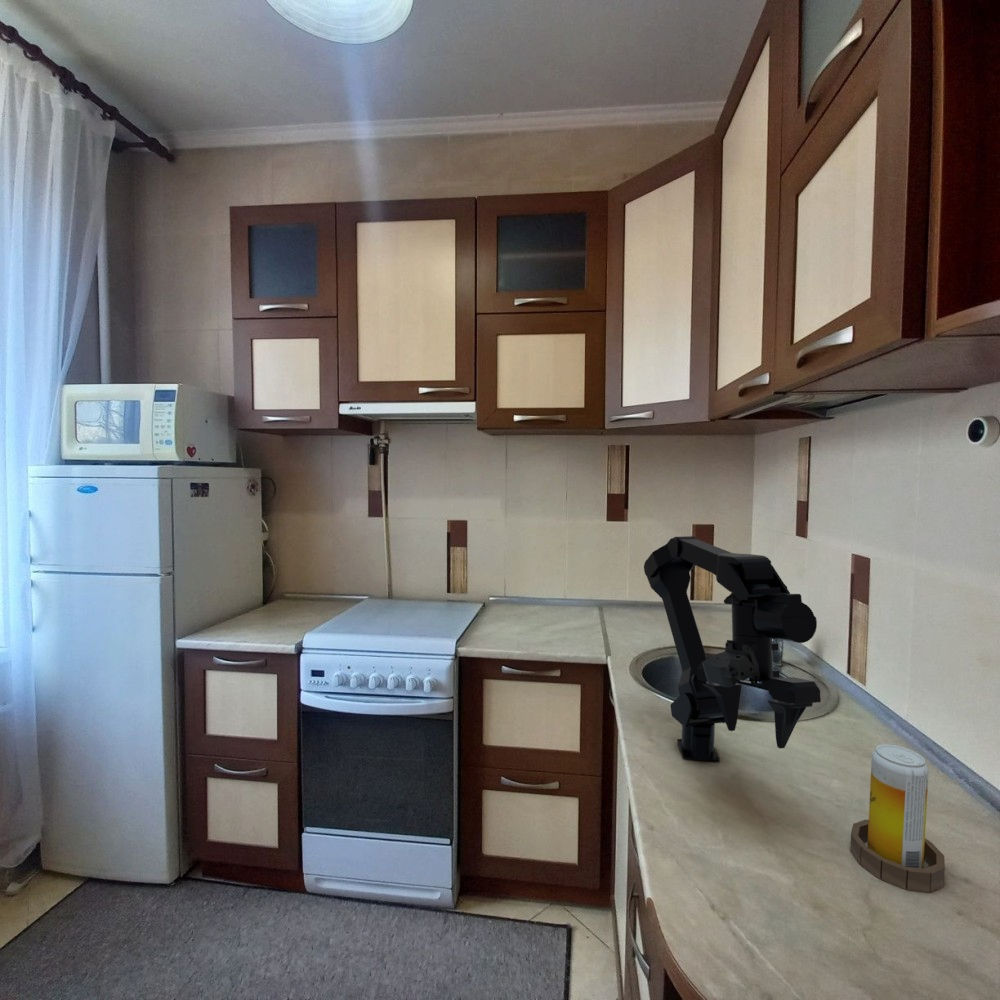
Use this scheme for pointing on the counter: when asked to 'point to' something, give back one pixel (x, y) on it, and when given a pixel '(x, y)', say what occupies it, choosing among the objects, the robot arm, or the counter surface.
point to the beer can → (898, 805)
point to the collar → (895, 872)
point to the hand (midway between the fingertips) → (755, 738)
